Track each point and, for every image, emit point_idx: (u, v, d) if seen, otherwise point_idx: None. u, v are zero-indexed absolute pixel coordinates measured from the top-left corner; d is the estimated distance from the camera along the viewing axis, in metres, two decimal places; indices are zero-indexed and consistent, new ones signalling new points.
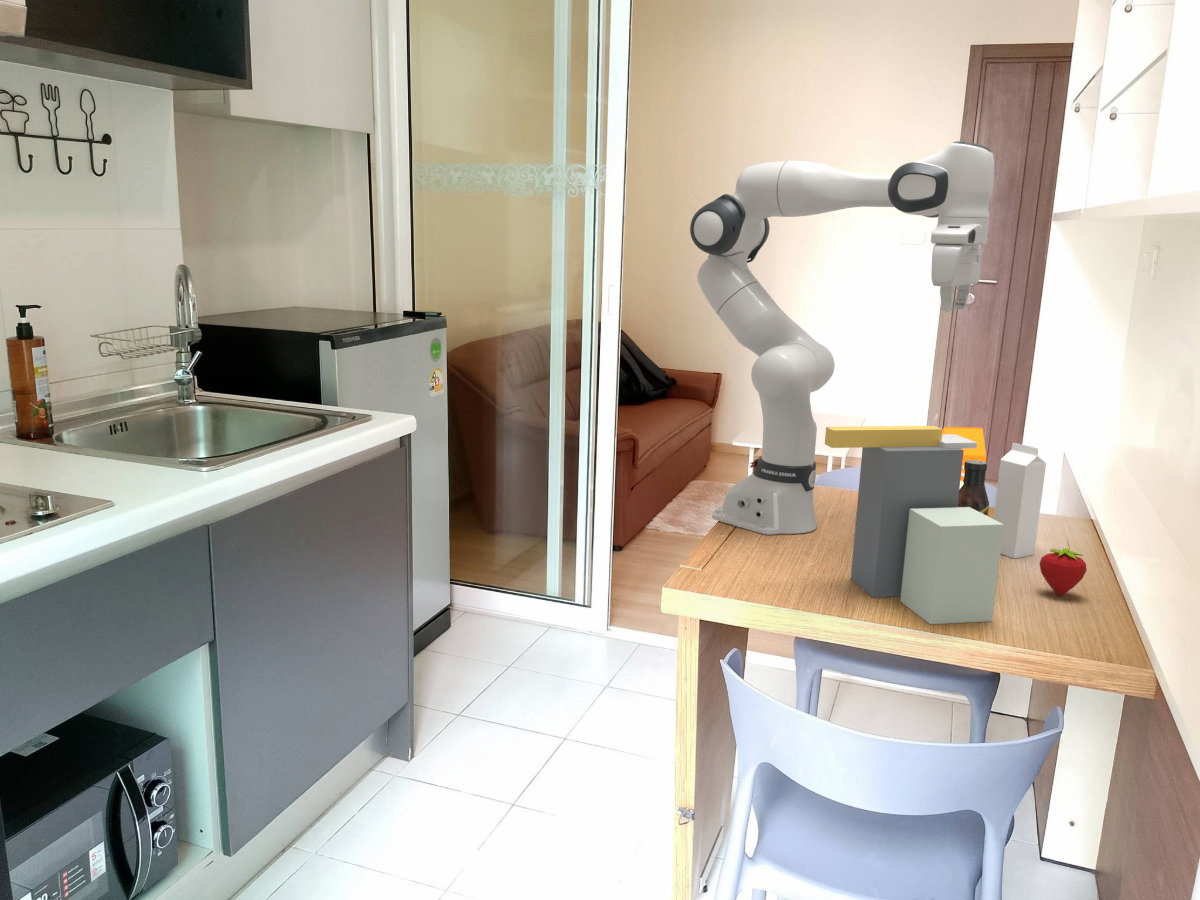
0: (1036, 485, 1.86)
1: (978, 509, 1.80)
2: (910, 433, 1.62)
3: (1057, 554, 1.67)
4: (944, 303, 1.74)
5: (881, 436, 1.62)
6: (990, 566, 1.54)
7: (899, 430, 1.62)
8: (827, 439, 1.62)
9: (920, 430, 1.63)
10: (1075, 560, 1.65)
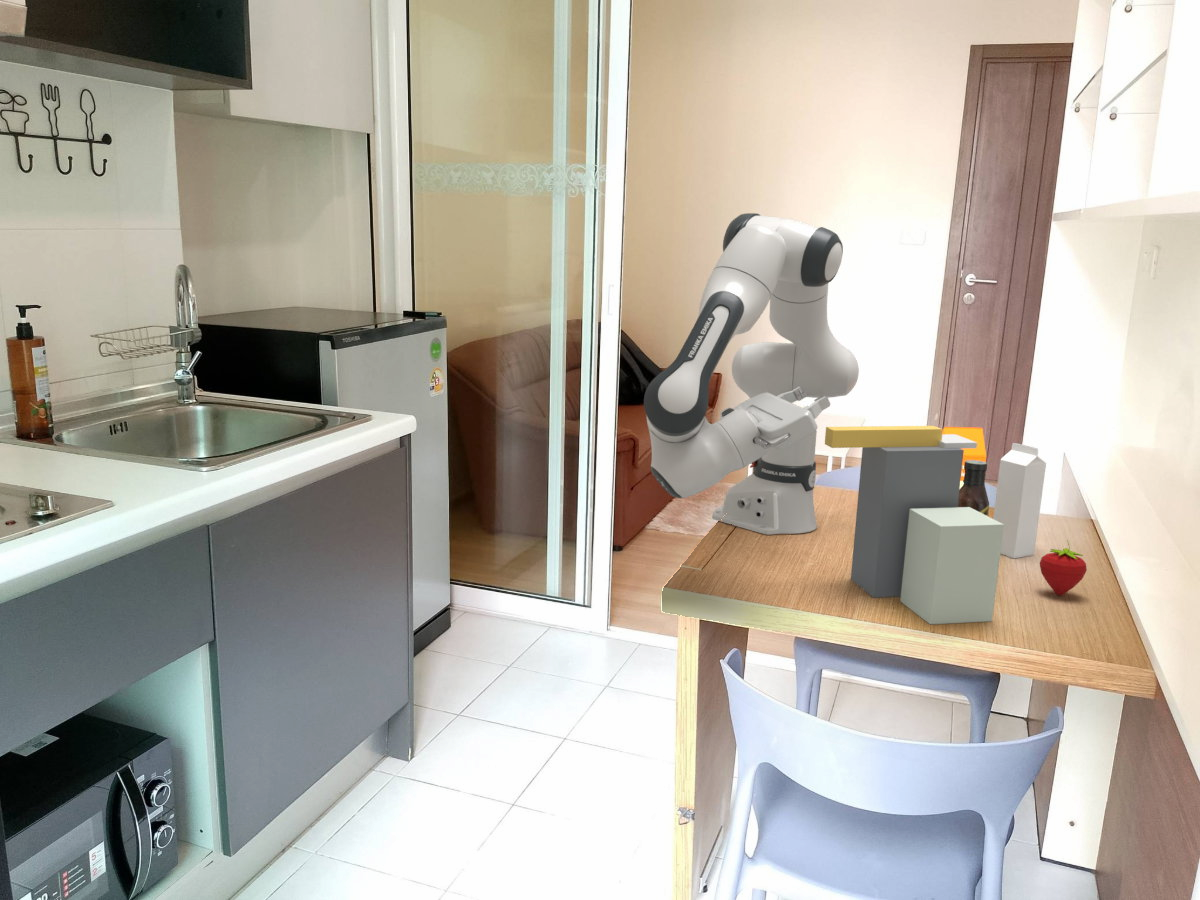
0: (1036, 485, 1.86)
1: (978, 509, 1.80)
2: (910, 433, 1.62)
3: (1057, 554, 1.67)
4: None
5: (881, 436, 1.62)
6: (990, 566, 1.54)
7: (899, 430, 1.62)
8: (827, 439, 1.62)
9: (920, 430, 1.63)
10: (1075, 560, 1.65)
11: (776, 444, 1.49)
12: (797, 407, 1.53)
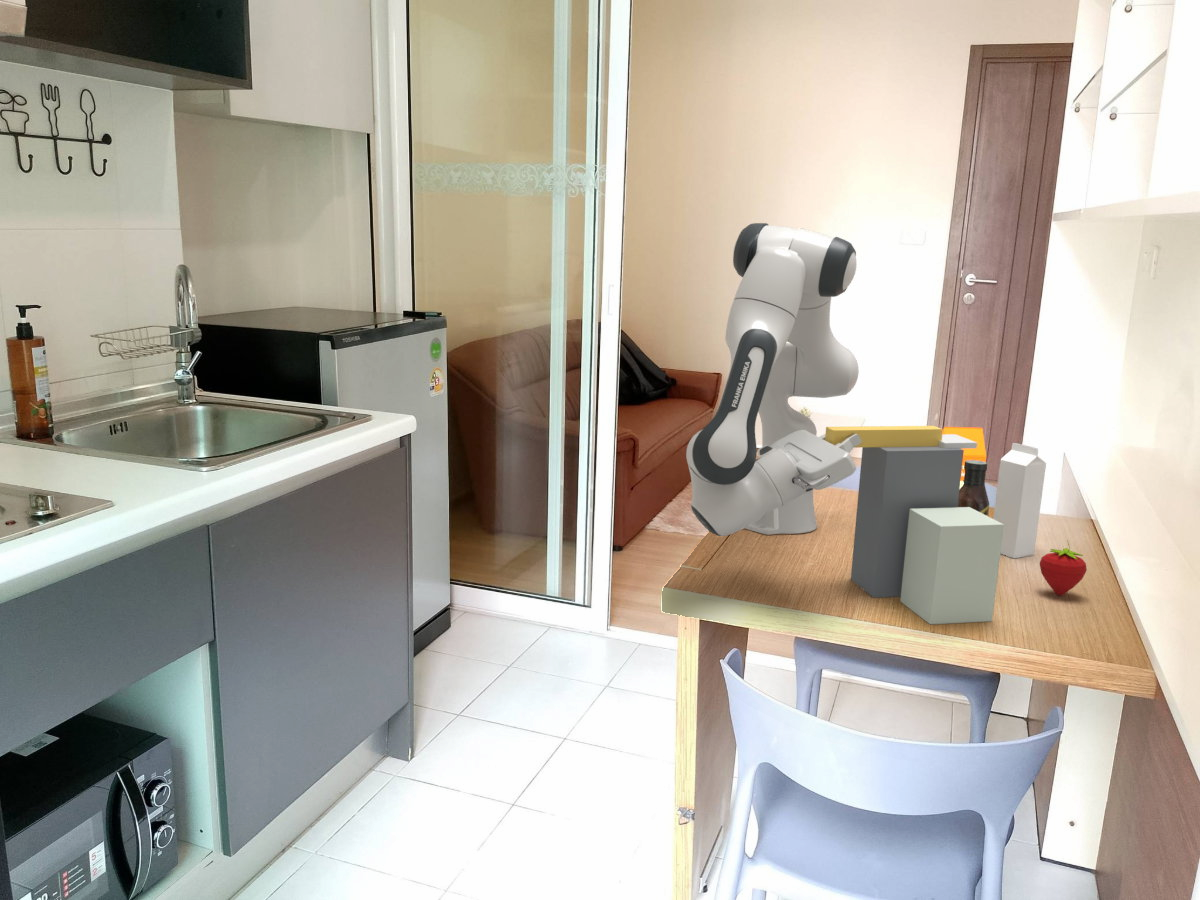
0: (1036, 485, 1.86)
1: (978, 509, 1.80)
2: (910, 433, 1.62)
3: (1057, 554, 1.67)
4: None
5: (881, 436, 1.62)
6: (990, 566, 1.54)
7: (899, 430, 1.62)
8: (827, 439, 1.62)
9: (920, 430, 1.63)
10: (1075, 560, 1.65)
11: (816, 486, 1.52)
12: (836, 448, 1.56)
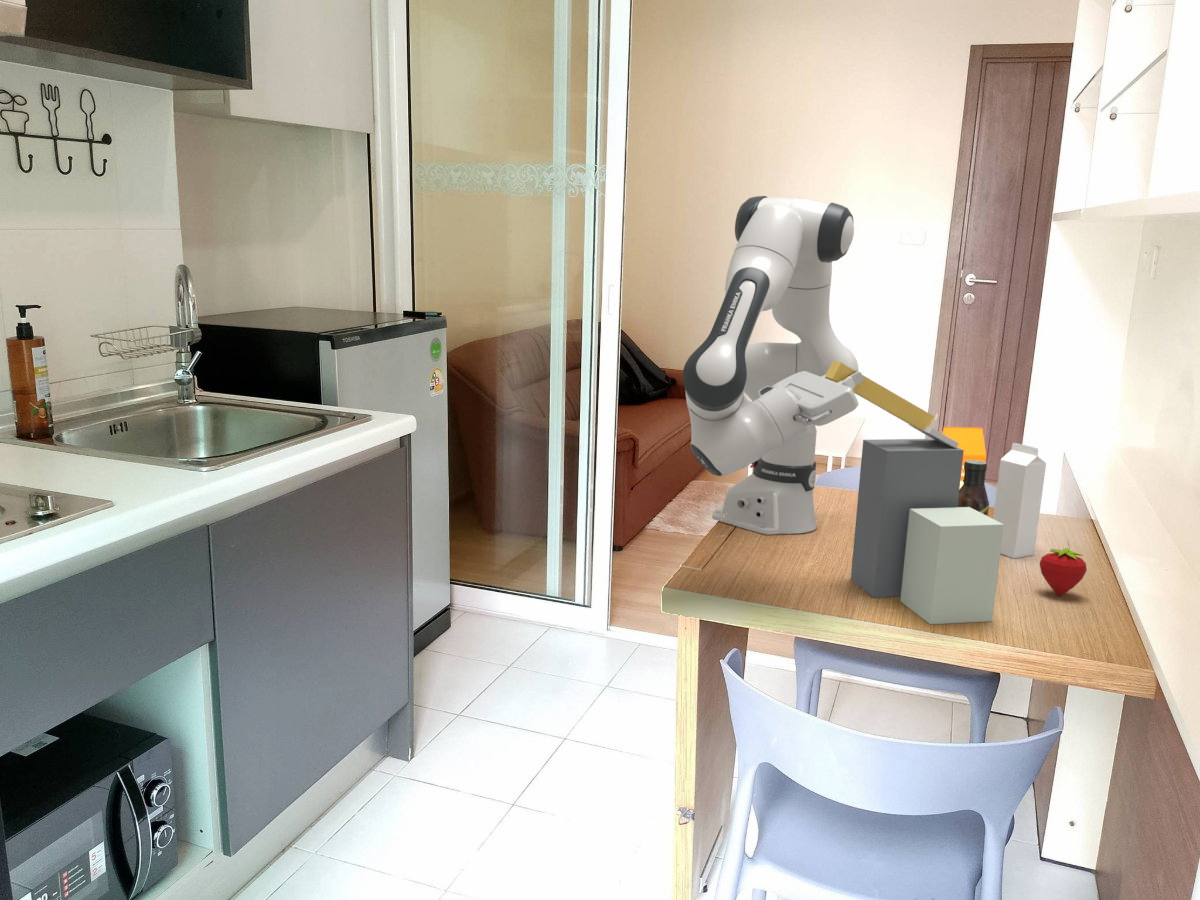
0: (1036, 485, 1.86)
1: (978, 509, 1.80)
2: (905, 404, 1.61)
3: (1057, 554, 1.67)
4: None
5: (879, 392, 1.60)
6: (990, 566, 1.54)
7: (897, 396, 1.60)
8: (830, 371, 1.59)
9: (915, 406, 1.61)
10: (1075, 560, 1.65)
11: (818, 421, 1.49)
12: (838, 384, 1.53)
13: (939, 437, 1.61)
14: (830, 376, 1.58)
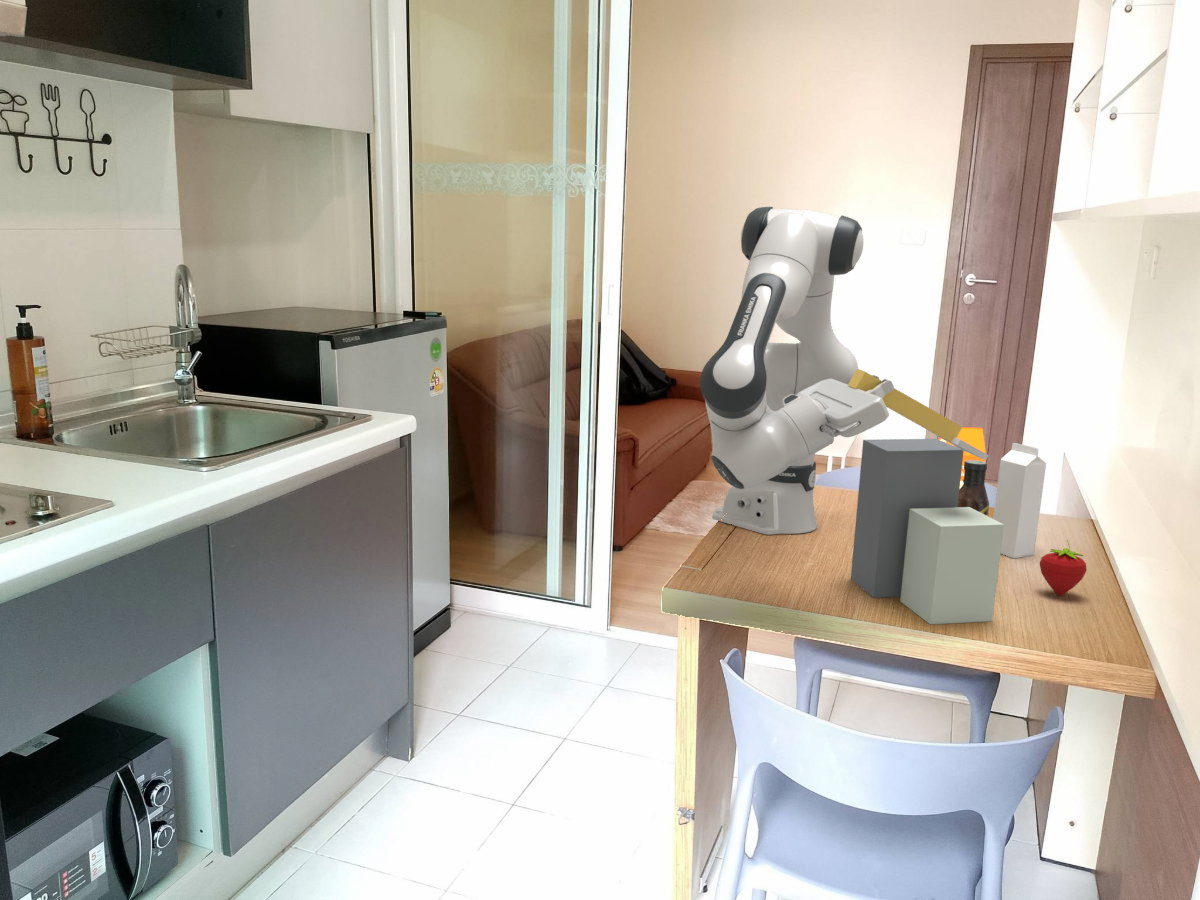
0: (1036, 485, 1.86)
1: (978, 509, 1.80)
2: (932, 414, 1.53)
3: (1057, 554, 1.67)
4: None
5: (905, 402, 1.52)
6: (990, 566, 1.54)
7: (924, 406, 1.53)
8: (854, 380, 1.52)
9: (942, 416, 1.54)
10: (1075, 560, 1.65)
11: (846, 432, 1.42)
12: (867, 393, 1.46)
13: (968, 449, 1.54)
14: (853, 386, 1.51)
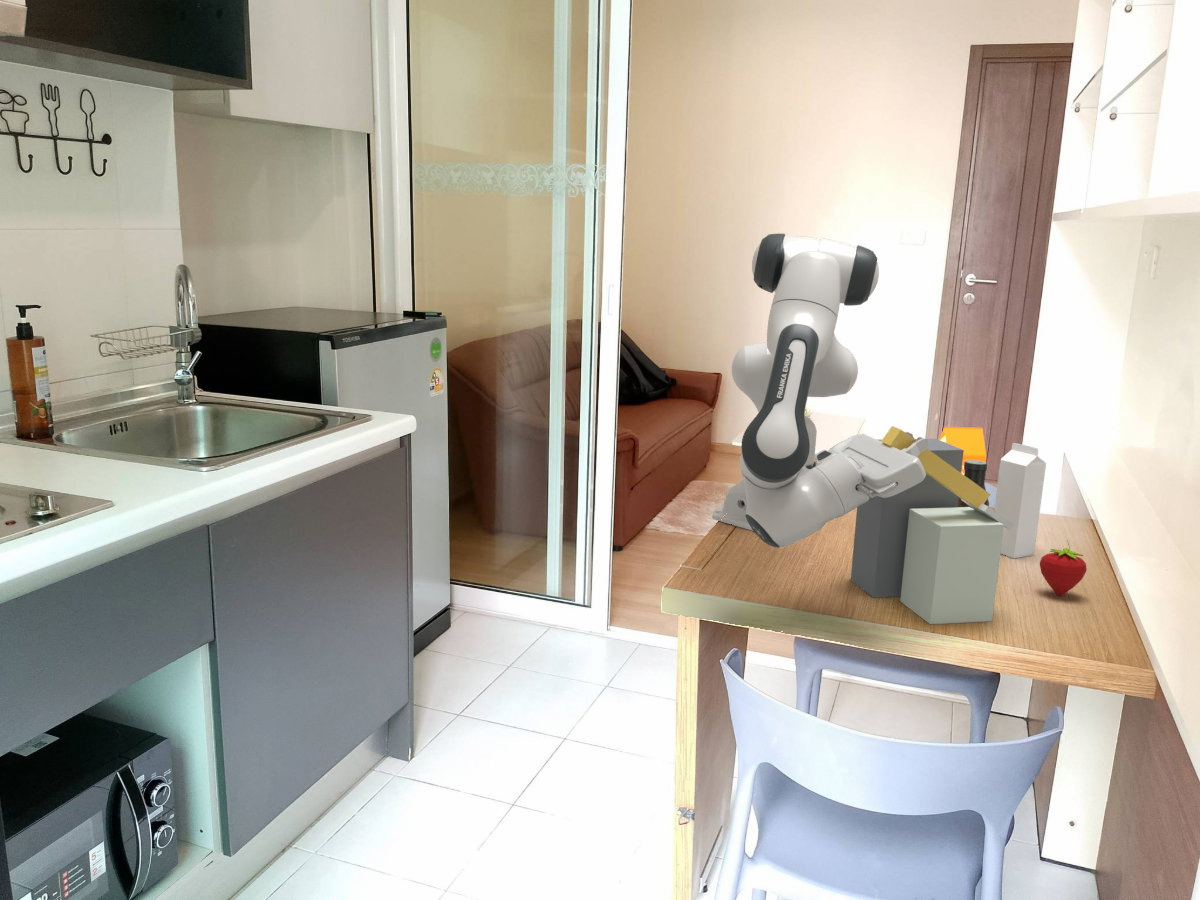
0: (1036, 485, 1.86)
1: None
2: (962, 478, 1.53)
3: (1057, 554, 1.67)
4: None
5: (936, 464, 1.52)
6: (990, 566, 1.54)
7: (954, 469, 1.52)
8: (888, 437, 1.51)
9: (971, 482, 1.53)
10: (1075, 560, 1.65)
11: (884, 493, 1.41)
12: (903, 453, 1.46)
13: (994, 516, 1.53)
14: (887, 442, 1.50)
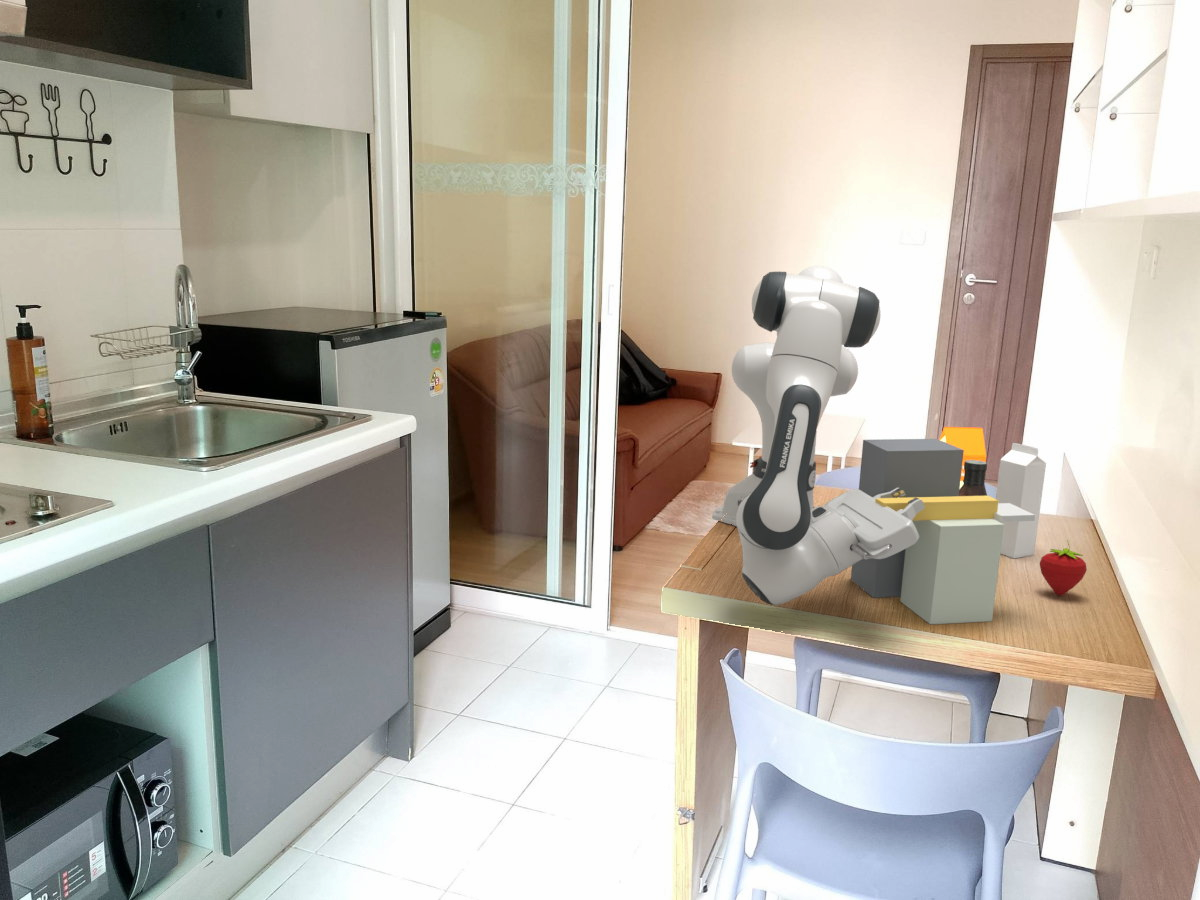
0: (1036, 485, 1.86)
1: None
2: (964, 505, 1.54)
3: (1057, 554, 1.67)
4: None
5: (934, 508, 1.53)
6: (990, 566, 1.54)
7: (953, 502, 1.54)
8: None
9: (975, 502, 1.54)
10: (1075, 560, 1.65)
11: (877, 556, 1.43)
12: (896, 514, 1.48)
13: (1012, 520, 1.54)
14: None
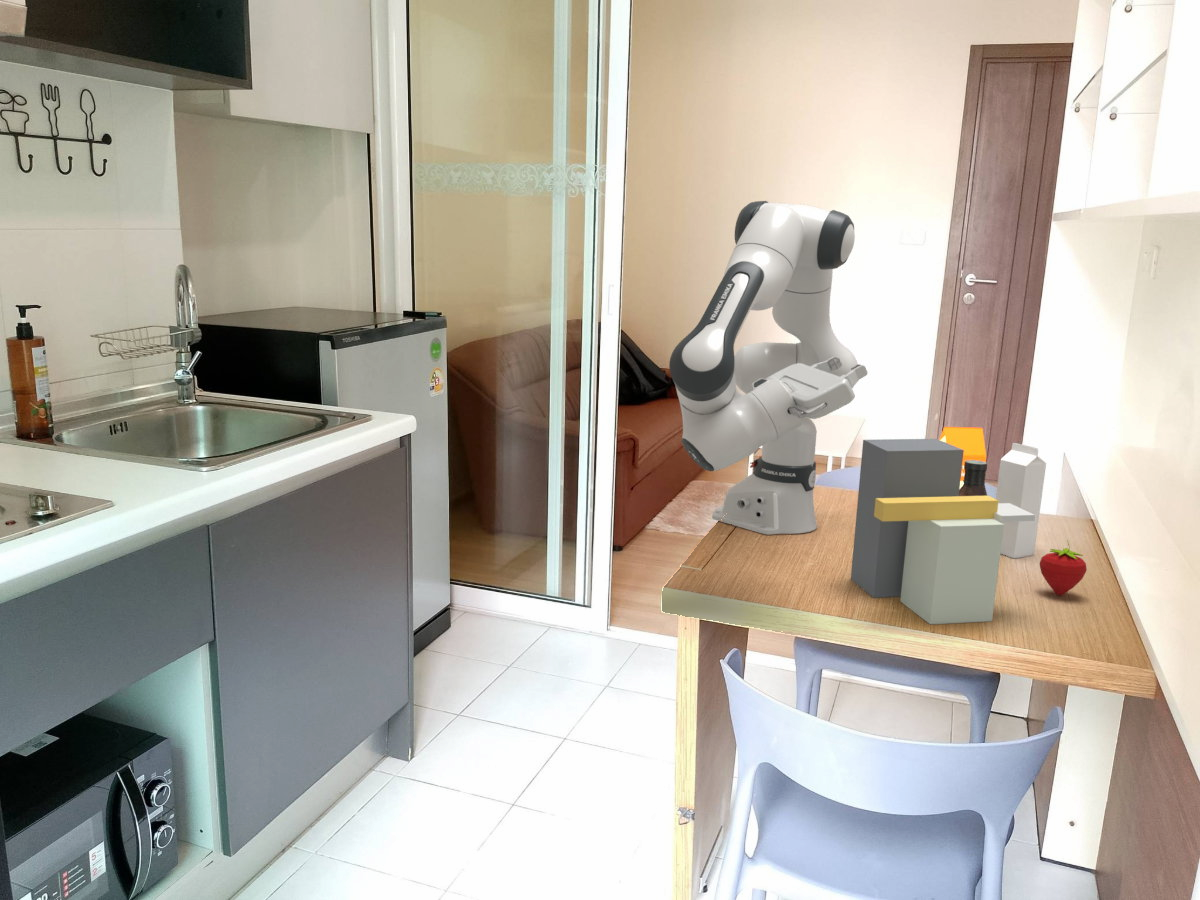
0: (1036, 485, 1.86)
1: None
2: (964, 505, 1.54)
3: (1057, 554, 1.67)
4: None
5: (934, 508, 1.53)
6: (990, 566, 1.54)
7: (953, 502, 1.54)
8: (877, 511, 1.54)
9: (975, 502, 1.54)
10: (1075, 560, 1.65)
11: (812, 413, 1.44)
12: (833, 376, 1.49)
13: (1012, 520, 1.54)
14: (879, 518, 1.53)
